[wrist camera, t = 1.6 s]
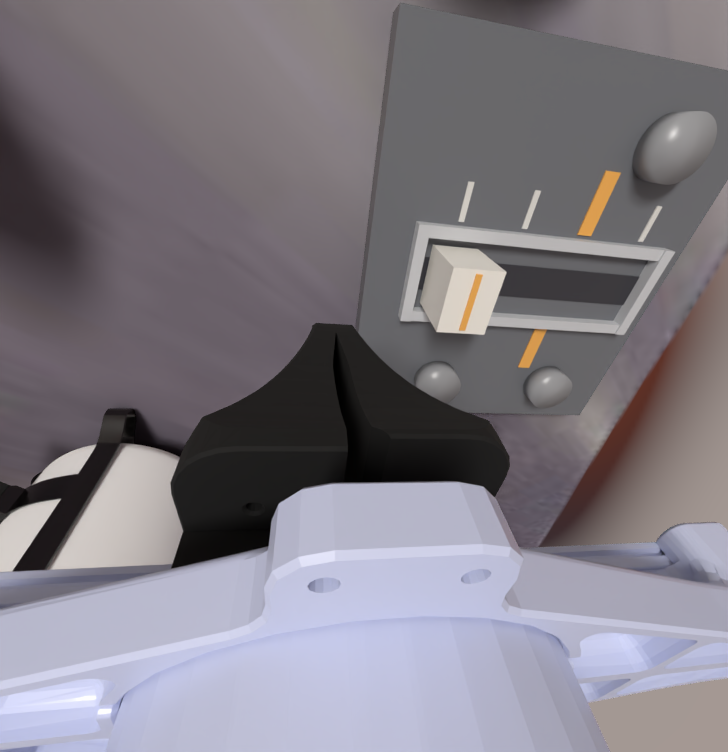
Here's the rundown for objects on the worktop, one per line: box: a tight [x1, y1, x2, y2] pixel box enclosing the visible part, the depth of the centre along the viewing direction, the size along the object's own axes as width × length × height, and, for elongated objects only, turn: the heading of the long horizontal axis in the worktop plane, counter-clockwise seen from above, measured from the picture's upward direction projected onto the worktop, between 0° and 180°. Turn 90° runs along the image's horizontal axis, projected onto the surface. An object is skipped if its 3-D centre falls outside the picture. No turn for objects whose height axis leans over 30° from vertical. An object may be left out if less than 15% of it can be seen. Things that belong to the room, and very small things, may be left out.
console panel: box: [355, 3, 728, 415], centre depth 20 cm, size 20×18×3 cm
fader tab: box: [420, 245, 507, 335], centre depth 18 cm, size 3×2×4 cm
